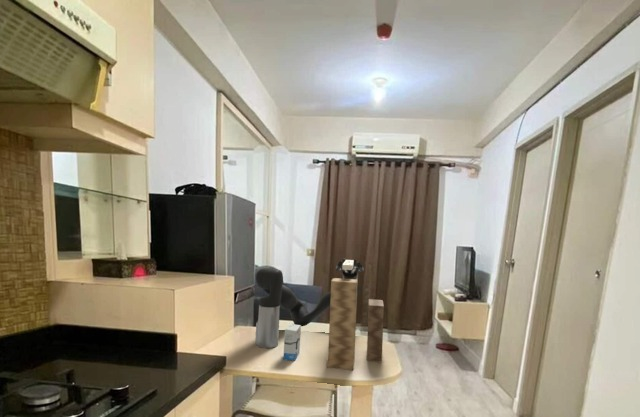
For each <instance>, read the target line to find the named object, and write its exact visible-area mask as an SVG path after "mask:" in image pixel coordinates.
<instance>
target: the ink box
mask: <svg viewBox="0 0 640 417" xmlns="http://www.w3.org/2000/svg"><path fill="white" fill-rule="evenodd" d="M301 328H302V326H301V325H295V324H294V323H289V324H288V326H286V327H285V329H284V340H283V360H286V361H296V359H297V358H298V356H299V355H300V351H301V349H300V347H301V335H302V332H301V330H302V329H301Z"/></svg>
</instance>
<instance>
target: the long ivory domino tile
mask: <svg viewBox="0 0 640 417" xmlns="http://www.w3.org/2000/svg"><path fill="white" fill-rule="evenodd" d="M345 260H346V261H345V262H344V263H343V265H342V266H341V267H342V270H352V269H353V266H354V259H345Z"/></svg>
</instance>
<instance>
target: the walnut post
mask: <svg viewBox="0 0 640 417" xmlns="http://www.w3.org/2000/svg"><path fill="white" fill-rule="evenodd" d="M384 305H385V304H384V301H383V300H382V299H371V298H368V313H367V316H368V317H367V338H366V339H367V340H366V341H367V342H366V361H370V362H371V361H373V362H381V361H382V362H383V340H384V339H383V338H384V311H385V310H384V308H385V306H384Z"/></svg>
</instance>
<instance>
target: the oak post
mask: <svg viewBox="0 0 640 417" xmlns="http://www.w3.org/2000/svg"><path fill="white" fill-rule="evenodd" d="M330 281H331V282H330V283H331V285H330V291H331V301H330V307H329V328H328V347H327V348H328V350H327V351H328V353H327V361H326V368H330V369H331V368H332V369H342V370H350V371H353V370H354V367H355V355H356V354H355V353H356V352H355V350H356V328H357V308H358V307H357V306H358V305H357V304H358V303H357V302H358V294H357V282H358V279H357V280H356V279H343V278H341V277H340V278H339V277H338V278H337V277H332V279H331V280H330ZM358 283H359V282H358Z"/></svg>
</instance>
